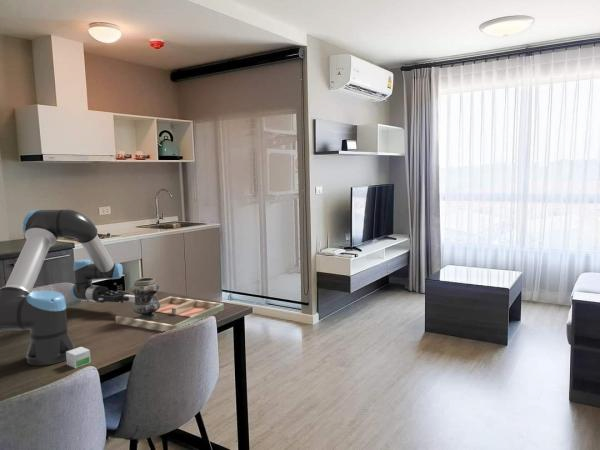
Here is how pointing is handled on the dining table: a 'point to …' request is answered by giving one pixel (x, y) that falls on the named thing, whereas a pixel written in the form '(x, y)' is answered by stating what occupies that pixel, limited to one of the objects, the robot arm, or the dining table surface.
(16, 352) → the dining table surface
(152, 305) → the apothecary jar
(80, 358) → the small box
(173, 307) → the trap box
